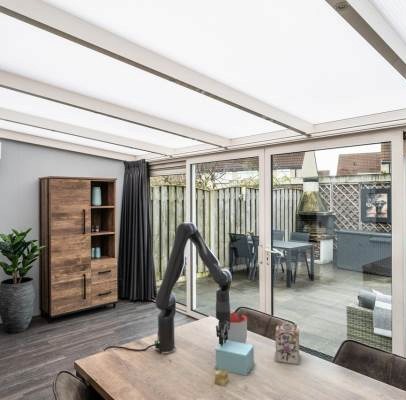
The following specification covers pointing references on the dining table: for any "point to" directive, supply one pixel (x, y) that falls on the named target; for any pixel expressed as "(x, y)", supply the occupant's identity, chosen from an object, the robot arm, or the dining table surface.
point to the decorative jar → (287, 343)
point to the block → (221, 377)
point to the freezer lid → (234, 347)
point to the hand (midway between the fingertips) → (223, 341)
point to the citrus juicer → (237, 328)
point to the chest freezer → (235, 362)
